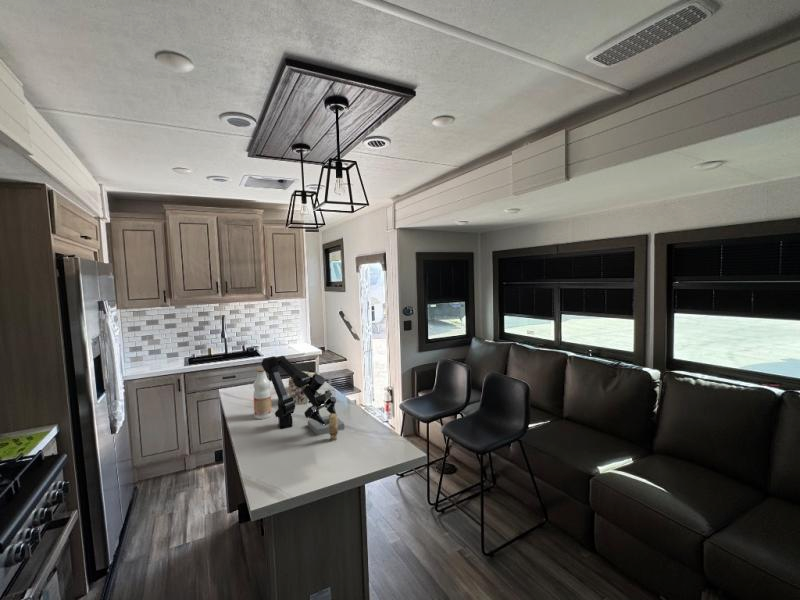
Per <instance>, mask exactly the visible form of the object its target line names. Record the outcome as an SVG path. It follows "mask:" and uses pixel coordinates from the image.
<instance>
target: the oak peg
mask: <svg viewBox="0 0 800 600" xmlns="http://www.w3.org/2000/svg"><path fill="white" fill-rule="evenodd" d="M328 416H329V433H328V435H329V436H330V437H329V438H330V441H331V440H332V441H331V442H333V441H334V442H335V441H337V440H338V434H339V430H338V428H337V418H338V413H336V414H335V413H332V414H330V413H329V414H328Z"/></svg>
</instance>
